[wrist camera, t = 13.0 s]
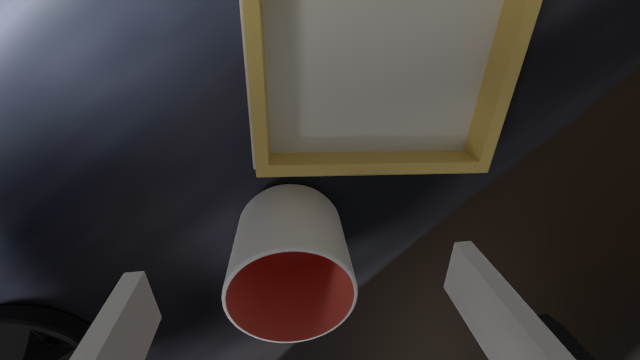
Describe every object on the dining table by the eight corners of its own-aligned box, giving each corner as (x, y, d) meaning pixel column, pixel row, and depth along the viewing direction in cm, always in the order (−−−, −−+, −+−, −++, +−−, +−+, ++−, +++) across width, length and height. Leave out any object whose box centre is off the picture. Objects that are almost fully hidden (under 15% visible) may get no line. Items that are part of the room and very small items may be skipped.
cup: (220, 229, 30) (193, 312, 22) (281, 158, 28) (278, 222, 19) (297, 271, 34) (300, 358, 25) (357, 213, 31) (385, 289, 22)
